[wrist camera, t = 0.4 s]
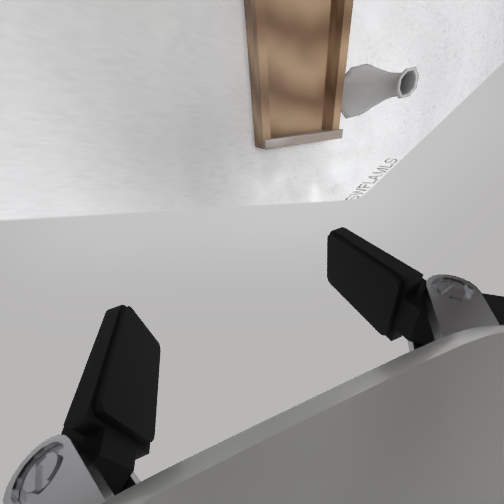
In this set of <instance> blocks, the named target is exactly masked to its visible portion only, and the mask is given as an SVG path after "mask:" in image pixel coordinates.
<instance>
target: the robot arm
mask: <svg viewBox="0 0 504 504" xmlns="http://www.w3.org/2000/svg"><path fill="white" fill-rule="evenodd" d="M327 247H328V248H327V256H328V257H327V278H328V281H329V282H330V284H331V285H332V286H333V287H334V288H335V289H336V290H337V291H338V292H339V293H340V294H341V295H342V296H343V297H344V298H345V299H346V300H347V301H348V302H349V303H350V304H351V305H352V306H353V307H354V308H355V309H356V310H357V311H358V312H359V313H360V314H361V315H362V316H363V317H364V318H365V319H366V320H367V321H368V322H369V323H370V324H371V325H372V326H373V327H374V328H375V329H376V330H377V331H378V332H379V333H380V334H381V335H386V336H387V337H388V338H389V339H390V340H391V341H392V340H395V339H397V338H399V337H401V336H402V335H403V336H404V337H405V338H406V339H407V340H408V345H409V350H410V352H409V353H406V354H404V355H402V356H400V357H398V358H396V359H394V360H392V361H389V362H387V363H385V364H383V365H381V366H379V367H377V368H374V369H372V370H370V371H368V372H366V373H364V374H362V375H360V376H358V377H355V378H353V379H351V380H349V381H347V382H345V383H343V384H341V385H339V386H337V387H334V388H332V389H330V390H328V391H326V392H324V393H322V394H320V395H318V396H316V397H313V398H311V399H309V400H307V401H305V402H303V403H301V404H299V405H297V406H295V407H293V408H291V409H288V410H287V411H284V412H282V413H280V414H278V415H276V416H274V417H272V418H270V419H268V420H266V421H263V422H262V423H259V424H258V425H255V426H253V427H251V428H249V429H247V430H245V431H243V432H241V433H239V434H237V435H235V436H232V437H230V438H228V439H226V440H224V441H222V442H220V443H218V444H216V445H214V446H212V447H210V448H208V449H206V450H204V451H202V452H200V453H198V454H196V455H193V456H192V457H189V458H187V459H185V460H183V461H181V462H179V463H177V464H175V465H173V466H171V467H169V468H167V469H165V470H163V471H161V472H159V473H157V474H155V475H153V476H152V477H150V478H148V479H146V480H144V481H142V482H141V481H140V480H139V479H138V477H137V476H136V475H135V473H134V472H133V471H134V464H135V460H136V459H138V458H140V457H142V456H144V455H147V454H149V449H150V442H152V441H153V439H154V435H155V422H156V407H157V392H158V378H159V363H160V345H159V343H158V342H157V340H156V339H155V338H154V336H153V335H152V334H151V332H150V331H149V330H148V328H147V327H146V326H145V325H144V323H143V322H142V321H141V319H140V318H139V317H138V316H137V314H136V313H135V312H134V310H133V309H132V308H131V307H130V306H128V307H126V306H124V305H120V306H117V307H115V308H112V309H109V310H107V311H106V313H105V316H104V319H103V321H102V324H101V327H100V329H99V332H98V335H97V337H96V340H95V343H94V345H93V348H92V351H91V353H90V356H89V359H88V361H87V364H86V367H85V369H84V372H83V375H82V377H81V380H80V383H79V385H78V388H77V391H76V393H75V396H74V399H73V401H72V404H71V406H70V409H69V412H68V414H67V418H66V420H65V423H64V428H63V431H62V434H61V435H57V436H54V437H51V438H49V439H47V440H46V441H44V442H43V443H41V444H40V445H39V446H38V447H36V448H35V449H34V450H33V451H32V452H31V453H30V454H29V455H28V456H27V457H26V459H25V460H24V461H23V462H22V463H21V464H20V466H19V467H18V469H17V470H16V472H15V473H14V474H13V476H12V478H11V480H10V482H9V484H8V486H7V488H6V491H5V495H4V498H3V504H504V297H502V296H496V295H489V294H483V293H481V291H480V290H479V289H478V288H477V287H476V286H475V285H474V284H472V283H471V282H469V281H467V280H465V279H462V278H459V277H456V276H452V275H434V276H432V277H430V278H428V280H427V281H426V280H424V279H423V278H422V277H423V274H421V273H420V272H418V271H417V270H415V269H413V268H411V267H410V266H408V265H406V264H404V263H403V262H401V261H400V260H398V259H396V258H395V257H393V256H391V255H390V254H388V253H386V252H384V251H383V250H381V249H379V248H378V247H376V246H374V245H373V244H371V243H369V242H368V241H366V240H364V239H363V238H361V237H359V236H357V235H356V234H354V233H353V232H351V231H349V230H348V229H346V228H343V227H341V228H339V229H336V230H333V231H331V232H330V235H329V236H328V243H327Z"/></svg>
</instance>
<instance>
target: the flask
mask: <svg viewBox="0 0 504 504" xmlns="http://www.w3.org/2000/svg"><path fill="white" fill-rule="evenodd" d="M418 77H419V75H418V72H417V69H416V67H412V68H408V69H405V70H404V71H403V72H402V73H391V72H388V71H384V70H381V69H379V68H376V67H374V66H372V65H369V64H365V65H360V66H356V67H352V68H351V69H350V70H349V72H348V73H347V74H346V76H345V79H344V88H343V97H342V106H341V110H342V112H343V114H344V115H345V117H346V118H350V117H353V116H357V115H360V114H362V113H364V112H365V111H367V110H369V109H370V108H372V107H373V106H375V105H377V104H379V103H380V102H382V101H384V100H386V99H388V98H391V97H395V96H398V98H404V97H408V96H410V94H411V93H412V92H413V91H414V90H415V89H416V87H417V82H418Z"/></svg>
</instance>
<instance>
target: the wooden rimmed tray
mask: <svg viewBox="0 0 504 504" xmlns="http://www.w3.org/2000/svg"><path fill="white" fill-rule="evenodd" d="M244 3H245V16H246V29H247V42H248V55H249V68H250V81H251V94H252V107H253V120H254V133H255V146H256V147H259V148H263V149H272V148H278V147H285V146H292V145H299V144H305V143H312V142H319V141H325V140H332V139H339V138H342V133H343V129H339V123H340V114H341V106H342V97H343V88H344V79H345V70H346V61H347V52H348V43H349V34H350V25H351V17H352V8H353V0H244Z"/></svg>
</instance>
